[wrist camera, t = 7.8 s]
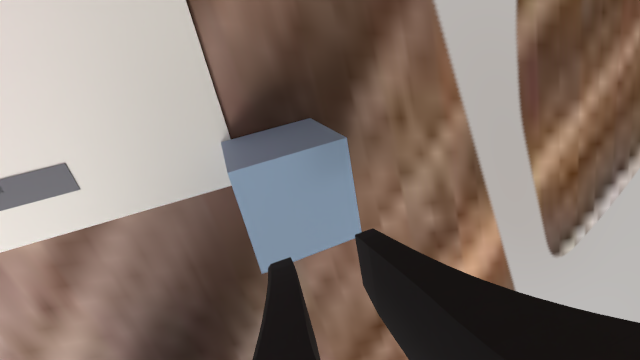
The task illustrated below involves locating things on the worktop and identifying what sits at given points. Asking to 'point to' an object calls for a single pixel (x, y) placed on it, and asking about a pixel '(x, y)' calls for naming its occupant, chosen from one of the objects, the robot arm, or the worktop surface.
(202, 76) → the letter board
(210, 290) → the worktop surface
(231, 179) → the blue cube
